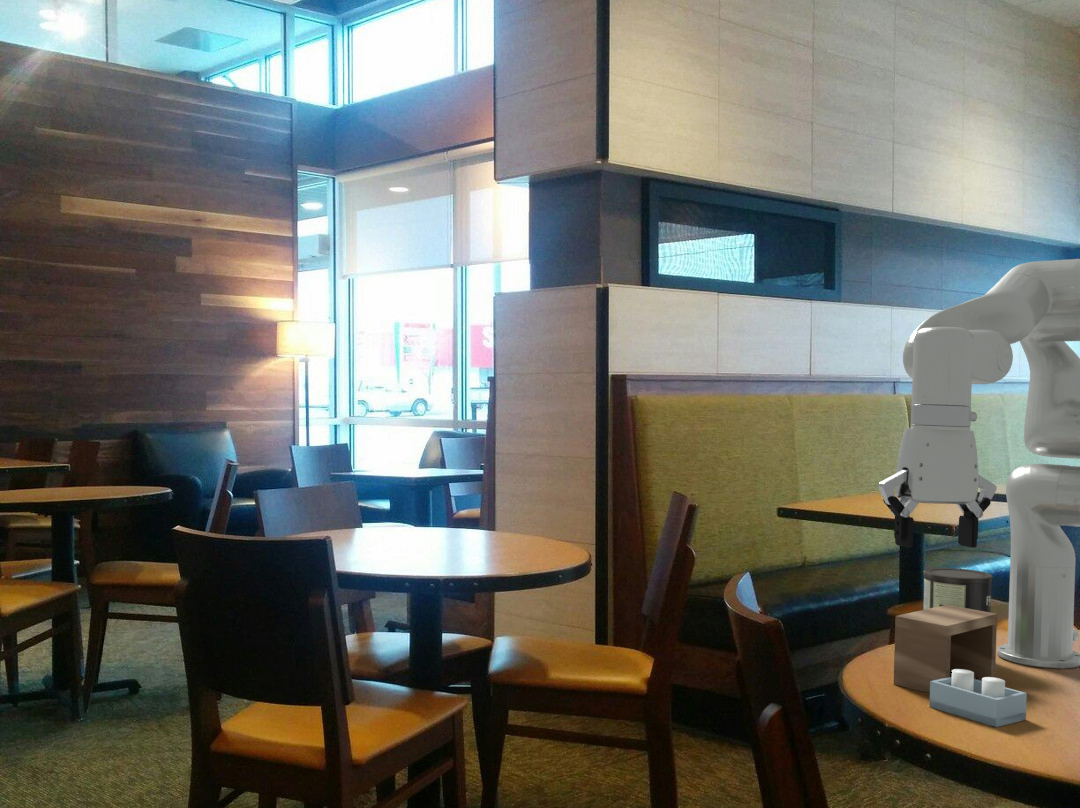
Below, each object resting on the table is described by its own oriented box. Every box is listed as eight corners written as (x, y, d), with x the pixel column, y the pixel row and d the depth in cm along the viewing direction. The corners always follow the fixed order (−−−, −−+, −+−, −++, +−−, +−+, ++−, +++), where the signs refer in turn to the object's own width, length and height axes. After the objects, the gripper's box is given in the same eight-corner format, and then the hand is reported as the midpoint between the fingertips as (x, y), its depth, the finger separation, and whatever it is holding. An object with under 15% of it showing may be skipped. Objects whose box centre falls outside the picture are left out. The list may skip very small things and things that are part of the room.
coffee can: (982, 654, 176) (985, 569, 175) (996, 670, 166) (998, 580, 165) (916, 650, 178) (919, 565, 178) (926, 665, 168) (928, 576, 167)
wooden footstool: (944, 669, 166) (946, 604, 166) (995, 680, 160) (997, 613, 160) (893, 684, 156) (895, 616, 156) (944, 697, 150) (946, 626, 150)
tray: (959, 700, 149) (960, 664, 149) (1025, 719, 141) (1026, 681, 141) (929, 706, 145) (930, 670, 145) (996, 727, 137) (997, 688, 137)
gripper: (978, 420, 150) (974, 542, 150) (867, 416, 146) (863, 542, 146) (1014, 421, 142) (1009, 550, 142) (898, 417, 138) (894, 550, 138)
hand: (935, 546), depth 144 cm, fingers open, 9 cm apart
